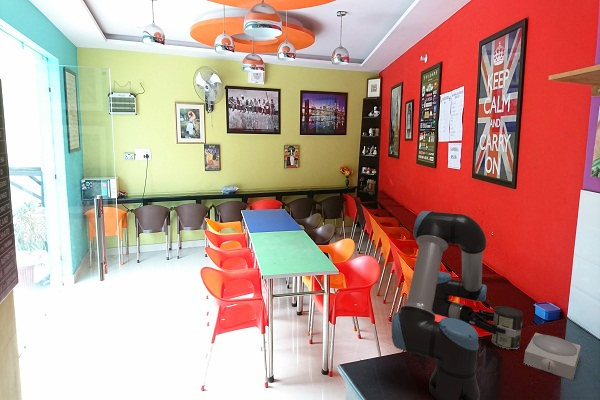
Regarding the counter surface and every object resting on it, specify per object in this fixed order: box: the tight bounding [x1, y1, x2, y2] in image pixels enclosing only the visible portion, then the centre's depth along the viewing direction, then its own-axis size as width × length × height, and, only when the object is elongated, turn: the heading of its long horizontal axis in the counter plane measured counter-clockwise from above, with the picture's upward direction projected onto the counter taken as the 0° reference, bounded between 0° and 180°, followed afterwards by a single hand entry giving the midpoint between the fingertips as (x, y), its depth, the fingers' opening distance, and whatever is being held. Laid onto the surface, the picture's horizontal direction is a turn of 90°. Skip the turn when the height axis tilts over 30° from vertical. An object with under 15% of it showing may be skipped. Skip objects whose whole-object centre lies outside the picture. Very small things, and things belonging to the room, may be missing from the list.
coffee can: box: [491, 305, 524, 350], centre depth 155 cm, size 10×10×14 cm
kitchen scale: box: [523, 332, 581, 381], centre depth 143 cm, size 15×21×6 cm
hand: (518, 329), depth 152 cm, fingers closed on coffee can, 10 cm apart
